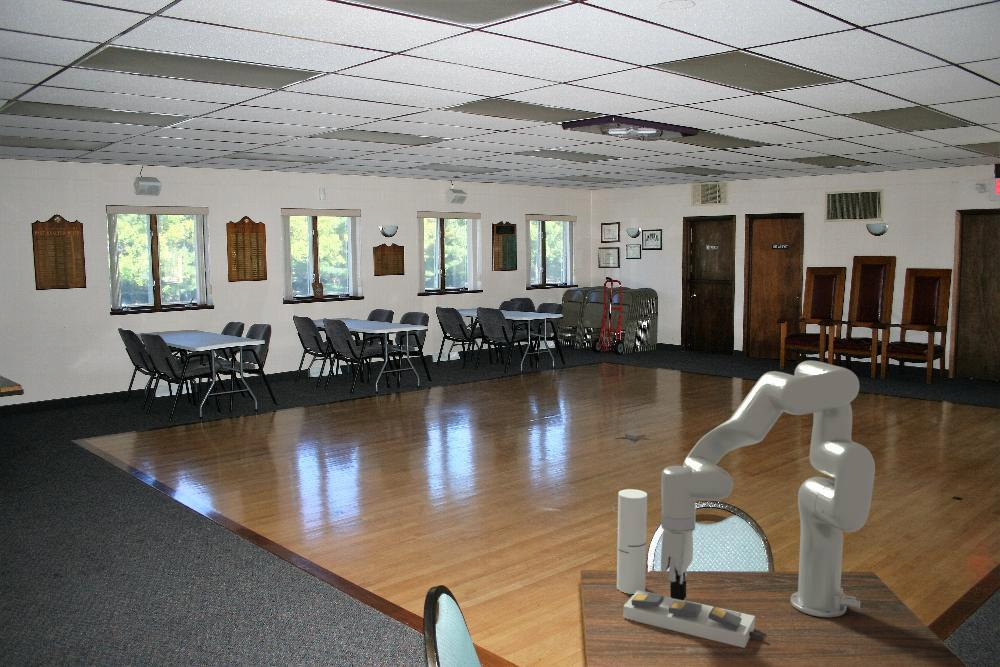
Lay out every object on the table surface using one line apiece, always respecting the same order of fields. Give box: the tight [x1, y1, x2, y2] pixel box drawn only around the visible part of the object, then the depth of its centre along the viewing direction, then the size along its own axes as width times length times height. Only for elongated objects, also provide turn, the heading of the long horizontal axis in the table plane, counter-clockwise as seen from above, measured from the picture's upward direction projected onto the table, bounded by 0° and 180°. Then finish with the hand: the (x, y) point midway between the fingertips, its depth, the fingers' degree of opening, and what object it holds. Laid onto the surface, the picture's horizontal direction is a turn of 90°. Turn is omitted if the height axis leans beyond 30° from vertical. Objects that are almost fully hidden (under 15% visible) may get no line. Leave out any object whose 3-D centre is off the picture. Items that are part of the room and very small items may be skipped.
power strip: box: [622, 590, 765, 649], centre depth 185 cm, size 31×10×3 cm, turn 60°
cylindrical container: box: [616, 488, 648, 595], centre depth 203 cm, size 7×7×25 cm
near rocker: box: [708, 606, 742, 631], centre depth 179 cm, size 6×4×1 cm, turn 61°
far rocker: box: [631, 594, 664, 607], centre depth 188 cm, size 6×4×1 cm, turn 60°
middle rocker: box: [669, 601, 702, 617], centre depth 184 cm, size 6×4×1 cm, turn 60°
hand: (678, 597), depth 185 cm, fingers closed
